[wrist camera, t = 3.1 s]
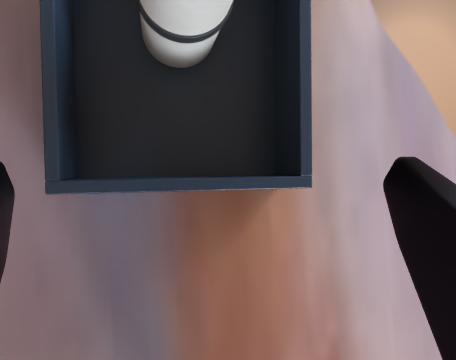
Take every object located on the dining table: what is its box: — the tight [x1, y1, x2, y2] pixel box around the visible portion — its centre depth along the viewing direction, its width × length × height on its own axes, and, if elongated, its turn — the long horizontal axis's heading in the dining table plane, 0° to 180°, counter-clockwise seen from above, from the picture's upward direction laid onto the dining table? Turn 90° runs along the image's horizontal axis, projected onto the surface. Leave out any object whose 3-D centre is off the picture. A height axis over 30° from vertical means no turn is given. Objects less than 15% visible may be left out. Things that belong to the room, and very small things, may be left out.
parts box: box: [40, 0, 312, 195], centre depth 20 cm, size 13×12×5 cm
